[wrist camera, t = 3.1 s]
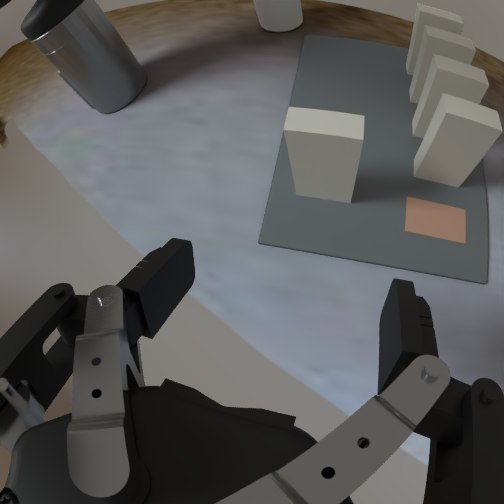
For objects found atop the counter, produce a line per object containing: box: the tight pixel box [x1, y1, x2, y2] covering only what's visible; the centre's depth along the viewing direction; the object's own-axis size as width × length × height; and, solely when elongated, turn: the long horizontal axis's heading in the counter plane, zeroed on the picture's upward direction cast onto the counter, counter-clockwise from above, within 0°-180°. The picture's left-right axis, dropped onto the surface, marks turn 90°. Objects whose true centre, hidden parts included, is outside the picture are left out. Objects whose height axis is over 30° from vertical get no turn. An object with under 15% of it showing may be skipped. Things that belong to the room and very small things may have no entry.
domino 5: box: [414, 93, 503, 187], centre depth 20 cm, size 5×2×10 cm, turn 77°
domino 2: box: [406, 3, 464, 75], centre depth 23 cm, size 5×2×10 cm, turn 77°
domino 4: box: [412, 54, 489, 138], centre depth 21 cm, size 5×2×10 cm, turn 77°
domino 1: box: [284, 107, 365, 203], centre depth 22 cm, size 5×2×10 cm, turn 77°
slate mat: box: [258, 34, 488, 284], centre depth 28 cm, size 22×30×1 cm
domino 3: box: [409, 25, 476, 104], centre depth 22 cm, size 5×2×10 cm, turn 77°
